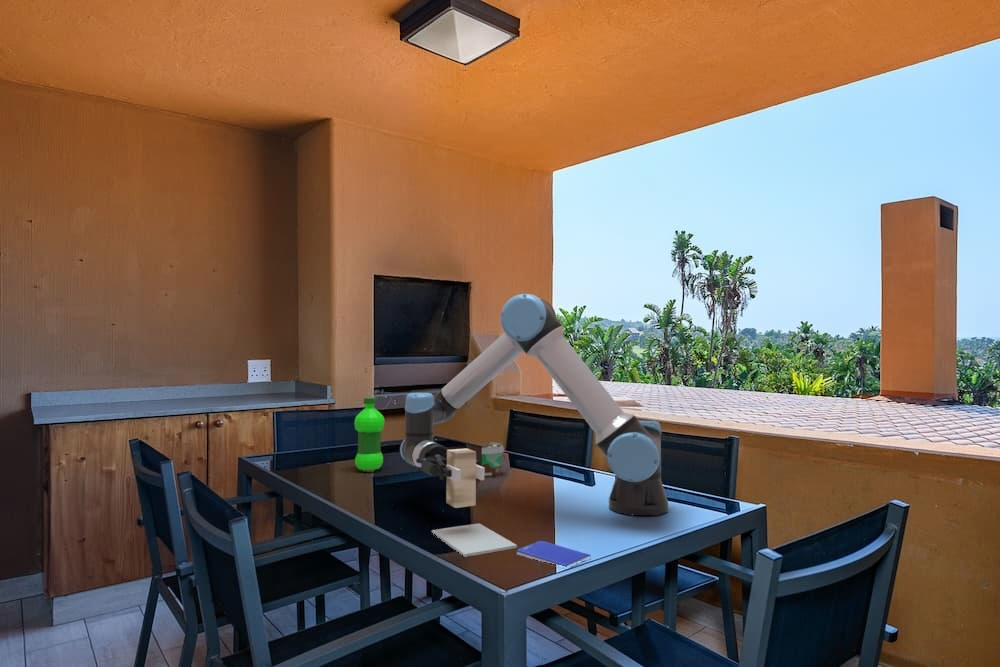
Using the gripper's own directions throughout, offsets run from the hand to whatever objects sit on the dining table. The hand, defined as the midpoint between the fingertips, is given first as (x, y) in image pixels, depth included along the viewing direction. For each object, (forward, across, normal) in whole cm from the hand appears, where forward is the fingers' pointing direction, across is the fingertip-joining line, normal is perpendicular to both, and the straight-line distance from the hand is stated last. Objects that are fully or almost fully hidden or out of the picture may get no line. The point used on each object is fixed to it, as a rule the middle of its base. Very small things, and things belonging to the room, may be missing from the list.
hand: (471, 475), depth 130 cm
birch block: (-5, 0, -8) cm, 9 cm away
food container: (-58, -36, -14) cm, 70 cm away
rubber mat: (+1, 0, -14) cm, 14 cm away
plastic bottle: (-85, -1, -15) cm, 86 cm away
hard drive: (+17, -10, -15) cm, 25 cm away
